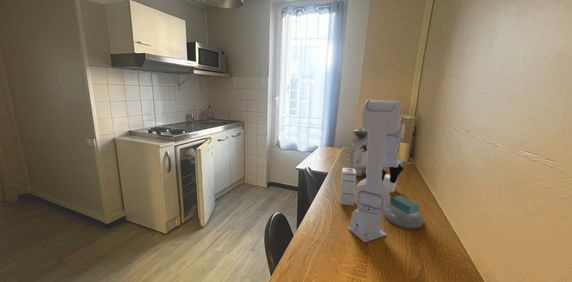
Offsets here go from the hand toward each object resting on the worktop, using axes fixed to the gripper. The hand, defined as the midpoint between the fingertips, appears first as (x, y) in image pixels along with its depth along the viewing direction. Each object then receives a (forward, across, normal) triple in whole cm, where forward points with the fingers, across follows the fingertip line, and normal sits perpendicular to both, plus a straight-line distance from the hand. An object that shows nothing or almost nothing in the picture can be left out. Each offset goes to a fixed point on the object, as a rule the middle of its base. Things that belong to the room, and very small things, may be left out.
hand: (386, 183), depth 94 cm
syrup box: (+10, -13, +8) cm, 18 cm away
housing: (+8, -2, -11) cm, 13 cm away
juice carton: (+10, +16, +33) cm, 37 cm away
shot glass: (+10, +14, +10) cm, 20 cm away
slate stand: (+9, -2, -11) cm, 15 cm away
